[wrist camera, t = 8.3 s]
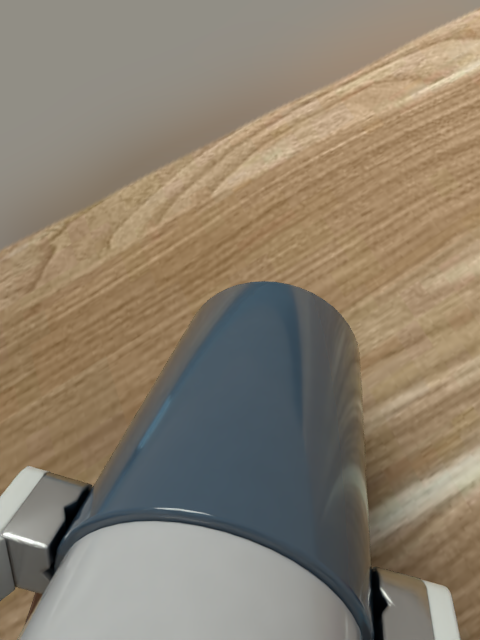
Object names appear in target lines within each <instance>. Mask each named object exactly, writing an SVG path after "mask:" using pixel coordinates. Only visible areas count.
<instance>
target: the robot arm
mask: <svg viewBox="0 0 480 640" xmlns="http://www.w3.org/2000/svg"><path fill="white" fill-rule="evenodd" d="M91 489H92V485H91V484H88V483H84V482H81V481H78V480H74V479H71V478H67V477H64V476H61V475H57V474H54V473H51V472H49V471H45V470H41V469H38V468H34V467H31V466H27V467H26V468H25V469H23V470H22V471H21V472H20V473H19V474H18V475H17V476H16V478H15V479H14V480H13V481H12V483H11V484H10V485H9V486H8V488H7V489H6V490H5V491H4V493H3V494H2V495H1V496H0V601H1V600H2V599H3V598H5V597H6V596H7V595H8V594H10V593H11V592H12V591H14V590H15V587H18V588H22V589H25V590H29V591H33V592H36V593H40V594H43V593H44V591H45V589H46V588H47V586H48V584H49V582H50V580H51V579H52V577H53V575H54V559H55V555H56V551H57V547H58V545H59V544H60V542H61V540H62V538H63V536H64V535H65V533H66V531H67V530H68V528H69V526H70V525H71V523H72V521H73V520H74V518H75V516H76V514H77V513H78V511H79V509H80V508H81V506H82V504H83V503H84V501H85V499H86V498H87V496H88V494H89V493H90V491H91ZM371 572H372V591H373V610H374V629H375V640H461V638H460V634H459V629H458V624H457V619H456V614H455V609H454V604H453V600H452V595H451V593H450V591H449V589H448V588H447V587H445V586H443V585H439V584H436V583H432V582H429V581H425V580H421V579H420V578H416V577H413V576H409V575H405V574H402V573H398V572H394V571H390V570H387V569H383V568H379V567H374V568H372V569H371Z"/></svg>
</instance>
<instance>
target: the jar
mask: <svg viewBox="0 0 480 640" xmlns="http://www.w3.org/2000/svg"><path fill="white" fill-rule="evenodd" d="M17 640H375V629H374V610H373V591H372V572H371V554H370V535H369V516H368V497H367V479H366V460H365V441H364V422H363V404H362V385H361V366H360V353H359V348H358V344H357V341H356V338H355V336H354V334H353V332H352V330H351V328H350V326H349V325H348V323H347V322H346V321H345V319H344V318H343V317H342V315H341V314H340V313H339V312H338V311H337V310H336V309H335V308H334V307H332V306H331V305H330V304H328V303H327V302H326V301H325V300H323V299H322V298H320V297H318V296H317V295H315V294H313V293H311V292H309V291H307V290H304V289H302V288H299V287H296V286H293V285H289V284H284V283H278V282H265V281H262V282H250V283H245V284H240V285H236V286H233V287H230V288H228V289H226V290H224V291H222V292H220V293H218V294H216V295H215V296H213V297H212V298H210V299H209V300H208V301H207V302H206V303H205V304H204V305H202V307H201V308H200V309H199V310H198V312H197V313H196V314H195V316H194V317H193V319H192V321H191V323H190V324H189V326H188V328H187V329H186V331H185V333H184V334H183V336H182V338H181V339H180V341H179V343H178V344H177V346H176V348H175V349H174V351H173V353H172V354H171V356H170V358H169V360H168V361H167V363H166V365H165V366H164V368H163V370H162V371H161V373H160V375H159V376H158V378H157V380H156V381H155V383H154V385H153V386H152V388H151V390H150V392H149V393H148V395H147V397H146V398H145V400H144V402H143V403H142V405H141V407H140V408H139V410H138V412H137V413H136V415H135V417H134V418H133V420H132V422H131V424H130V425H129V427H128V429H127V430H126V432H125V434H124V435H123V437H122V439H121V440H120V442H119V444H118V445H117V447H116V449H115V450H114V452H113V454H112V456H111V457H110V459H109V461H108V462H107V464H106V466H105V467H104V469H103V471H102V472H101V474H100V476H99V477H98V479H97V481H96V482H95V484H94V486H93V488H92V489H91V491H90V493H89V494H88V496H87V498H86V499H85V501H84V503H83V504H82V506H81V508H80V509H79V511H78V513H77V514H76V516H75V518H74V520H73V521H72V523H71V525H70V526H69V528H68V530H67V531H66V533H65V535H64V536H63V538H62V540H61V542H60V544H59V545H58V547H57V551H56V555H55V559H54V575H53V577H52V579H51V580H50V582H49V584H48V586H47V588H46V589H45V591H44V593H43V595H42V596H41V598H40V600H39V602H38V603H37V605H36V607H35V609H34V610H33V612H32V614H31V616H30V617H29V619H28V621H27V623H26V624H25V626H24V628H23V630H22V632H21V633H20V635H19V637H18V639H17Z"/></svg>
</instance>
